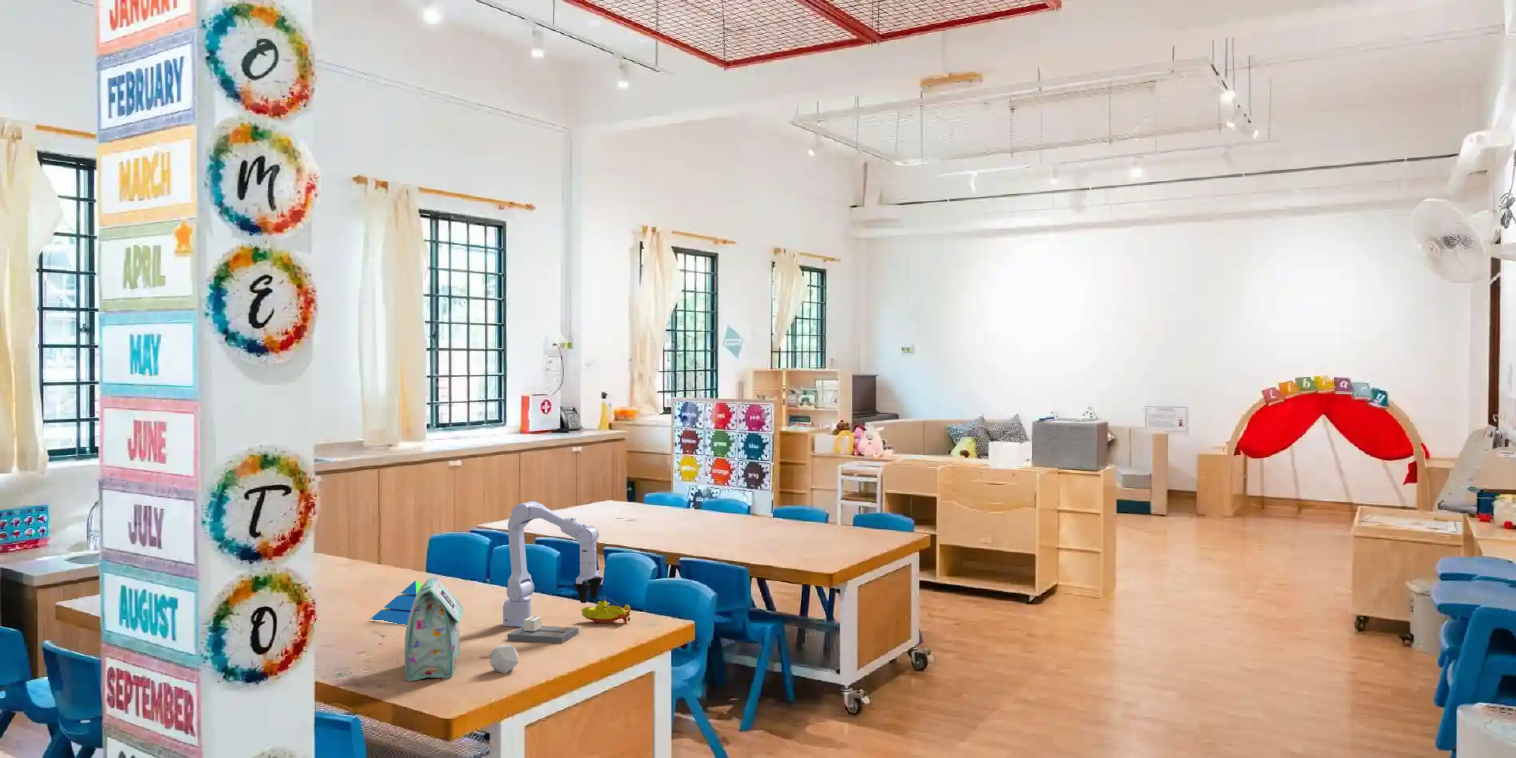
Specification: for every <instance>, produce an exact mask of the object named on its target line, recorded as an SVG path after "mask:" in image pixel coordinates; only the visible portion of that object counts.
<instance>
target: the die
mask: <svg viewBox="0 0 1516 758" xmlns="http://www.w3.org/2000/svg"><path fill="white" fill-rule="evenodd" d="M489 659H490V660H489V662H490V667H492V668H493V670H494V671H496V672H498V673H500V674H504V675H506V674H507V673H509V672H510V671H513V669H514V668H515V667H516V666H517V665H518V664H519V661H520V660H519V653H518V651H517V649H516V648H515V647H514V645H510V644H507V643H504V642H503V643H502V644H500V645H497V647H494V649H493V651H491V653H490V654H489Z"/></svg>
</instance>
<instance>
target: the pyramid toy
mask: <svg viewBox="0 0 1516 758" xmlns="http://www.w3.org/2000/svg"><path fill="white" fill-rule="evenodd" d="M422 585H423V584H422V583H420V582H419V581H417V580H414V581H413V582H412V583H410V584H409V585H408V586H407V587H406V588H405V589H404V590H402V592H400V594H398V595H396V596H395V597H394V598H393V599H392V600H390V601H389V602H388V603H387V604H386V605H385V606H384V607H383V608H382V609H380V610H379V611H378V612H376V613H375V614H374V615H373V616H372V617H371V618H370V619H373V620H384V621H388V622H393V623H397V624H405V625H404V626H406V625H407V623H408V619H409V615H410V612H411V609H412V606H413V603H414V600H415V597H416V595H417V593H418V591H419V589H420V588H421V586H422ZM397 624H396V625H397Z"/></svg>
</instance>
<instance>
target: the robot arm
mask: <svg viewBox="0 0 1516 758" xmlns="http://www.w3.org/2000/svg"><path fill="white" fill-rule="evenodd" d="M510 513H511V514H510V517H509V520H508V522H507V532H508V533H507V535H508V544H509V545H508V546H509V555H510V556H509V558H510V567H511V574H510V577H509V578H508V579H507V588H506V595H507V599H506V600H505V601H503V602H504V603H503V605H502V625H501V626H503V627H517V628H521V627H523V626H524V620H525V619H527V618H529V617H532V594H533V593H534V591H535V584H534V582H533V580H532V575H531V574H530V573H529V572H528V567H527V566H528V565H527V554H526V542H525V527H526V526H527V525H528V524H529V523H530V522H531V521H533V520H536V519H541V520H545V521H546V522H548V523H551V524H553V525H555V526H556V527H559V528H560V531H561V532H562V533H564V534H565V535H568V536H569V537H571V538H573V539H575V540H576V541H577V542H578V544H579V575H578V576H577V577H576V578H575V582H573V587H574V588H575V589H576V592H577V595H578V598H579V602H580V604H587V602H588V596H590V597H589V598H591V599H597V598H598V594H599V590H600V586H601V584H602V582H603V577H602V576H601V570H597V541H598V539H599V537H600V533H599V530H598V529H597V528H596V527H595V526H593V525H590V526H588V525H587V523H582V522H580V521H577V520H576V517H573V516H571V517H570V516H569V517H563V516H562V515H559V513H556V512H554V511H553V510H551V509H550V508H548V507H546V506H544V504H542V503H540V502H538V501H535V500H530V501H527V502H524V503H517V504H516V505H515V506H514V507H512V509H511V510H510Z"/></svg>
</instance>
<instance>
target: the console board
mask: <svg viewBox="0 0 1516 758" xmlns="http://www.w3.org/2000/svg"><path fill="white" fill-rule="evenodd" d="M579 630H580V629H579V627H575V626H574V627H572V626H571V627H570V626H555V625H541V628H540V629H538V630H536V631H524V626H523V627H518V628H517V629H515V630H513V631H511V632H509V633H507V634H506V635H507V636H506V637H507V641H516V642H517V641H518V642H519V641H520V642H535V643H538V642H539V643H546V644H547V643H551V644H563V643H565V642H567V641H568V640H570V639H571V638H573V637H576V636H577V635H578V634H579Z"/></svg>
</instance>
